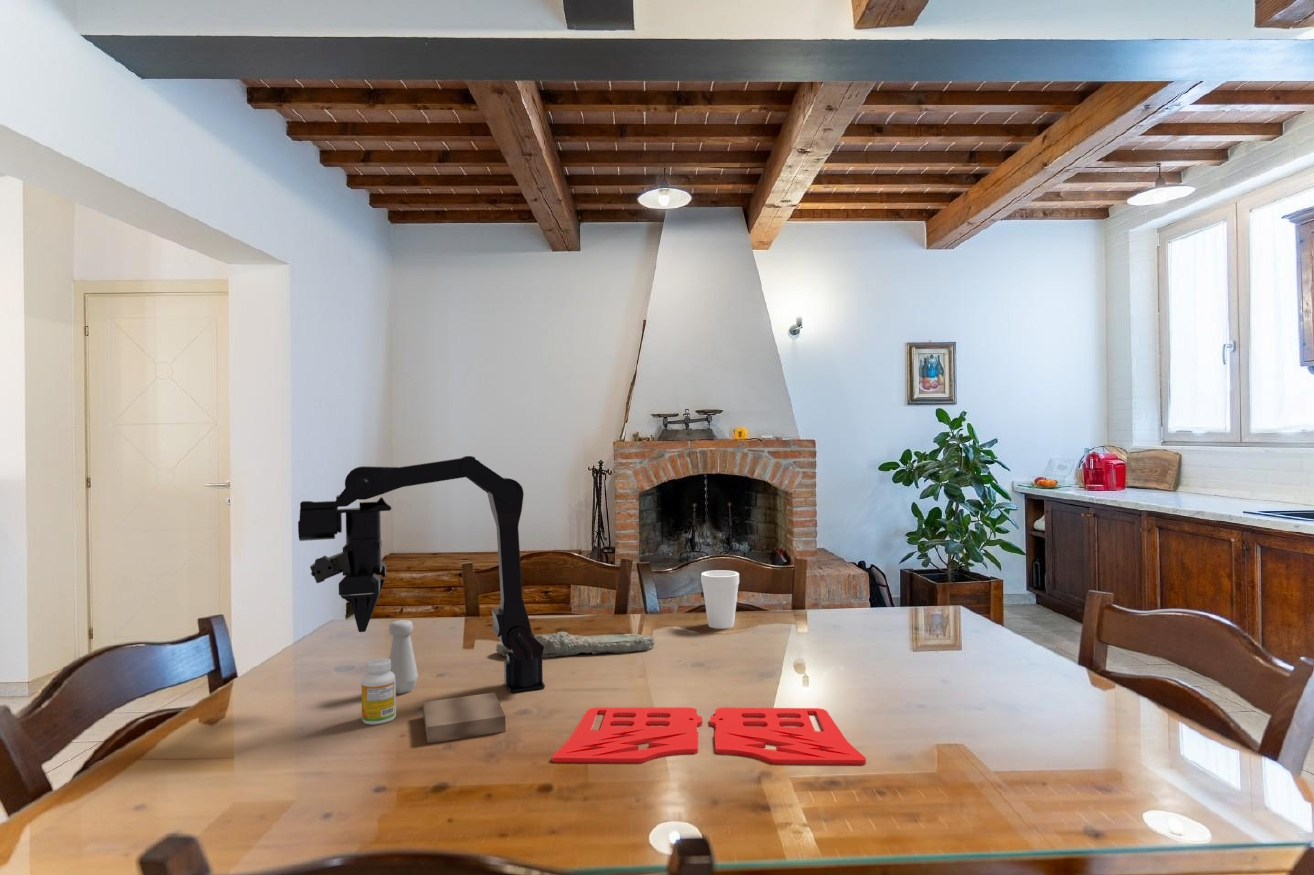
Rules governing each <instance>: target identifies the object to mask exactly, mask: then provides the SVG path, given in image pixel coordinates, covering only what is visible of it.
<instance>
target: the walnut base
mask: <svg viewBox="0 0 1314 875" xmlns="http://www.w3.org/2000/svg"><path fill="white" fill-rule="evenodd" d="M422 718H423V725H424V731H425V737H426V743H427V744H435V743H441V742H446V741H453V740H458V739H459V740H460V739H467V738H472V737H479V736H485V735H486V736H487V735H491V734H498V733H505V732H506V731H507V729H506V728H507V726H506V725H507V724H506V714H505V712H504V710H503V708H502V706H501V703H500V701H499V699H498V696H497V695H496V693H495V692H489V693H482V694H474V695H472V694H471V695H466V696H460V697H459V696H458V697H451V698H446V699H445V698H444V699H437V700H430V701H428V700H427V701H422Z"/></svg>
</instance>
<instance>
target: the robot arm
mask: <svg viewBox="0 0 1314 875" xmlns="http://www.w3.org/2000/svg"><path fill="white" fill-rule="evenodd" d="M462 478H466V479H468V480H469V481H471V482H472V483H473V484H474V485H476V486H477V487H478V488H480V489H481V490H482V491H484V492H485V493H486V494H487V497H488V502H489V507H490V511H491V513H492V516H493V520H494V522H495V526H496V527H495V528H496V539H497V554H498V555H497V556H498V570H499V574H498V576H499V588H500V589H499V591H500V601H499V605H498V608H491V614H492V618H493V621H492V622H493V625H492V628H491V629H492V631H493V632H494V634H495V635H496V637H498V639H499V640H500V642H502V643H503V645H504V646H505V647H506V648H507V649H509V650H510V651H511V652H509V653H507V656H506V660H505V661H504V662H503V679H504V680H503V683H504V685H505V686H506V687H507V688H508V691H509V692H510V693H516V692H524V691H531V690H539V689H544V688H546V684H545V683H544V682H543V679H544V678H543V658H542V653H543V650H544V646H543V645H542V644H541V643H540V641H539V640H538V639H537V638H536V637H535V634H533V633H532V632H533V631H532V627H531V623H530V618H529V614H528V612H527V609H526V605H525V602H524V599H523V583H522V582H523V581H522V567H521V549H520V534H519V523H520V520H521V515H522V511H523V503H524V488H523V487H522V485H521V484H520V483H519V482H518V481H517V480H515V479H513V478H509V477H502V476H501V475H499V473H497V472H495V471H493V470H492V469H491V468H489V467H488V466H486V465H485V464H483V463H482V462H481V461H480V460H479V459H478V458H477V457H475V456H471V455H465V456H461V457H460V458H452V459H445V460H438V461H432V462H426V463H425V462H424V463H419V464H418V463H417V464H411V465H404V466H370V465H369V466H367V465H365V466H362V465H361V466H357V467H355V468H353V469H351V470H350V472H349V473H348V474H347V475H346V477H345V480H344V489H343V491H342V492H341V493H340V494H337V495H336V496H335V498H336V500H329V501H311V500H302V501H301V502H300V503H299V507H300V508H299V509H300V510H299V519H298V522H297V524H298V526H297V528H298V529H297V530H298V531H297V532H298V534H297V535H298V540H299V542H304V541H323V540H335V539H336V535H338V533H340V534H341V533H342V532H343V531H342V530H343V519H342V518H343V515H342V514H345V544H344V546H343V547H342V552H339V553H337V554H334V555H331V556H329V557H328V556H327V555H323V556H321V557H319V558H318V557H317V558H316V559H315V561H314V563H312V564H311V565H310V566H309V568H310V571H311V573H310V575H311V576H312V577H313V578H314V580H315V583H316V584H320V583H322V582H325V580H327V579H329V578H331V577H334V576H337V575H340V574H342V576H343V578H342V579H341V580H339V582H338V595H339V596H340V598H341V599H343V600H345V601H346V602H348V603H349V604H350V606H351V609H352V612H353V616H354V620H355V623H356V627H357V631H358V632H359V633H365V632H366V631H367V628H368V627H369V624H370V620H371V619H372V617H373V616H372V615H373V613H374V611H375V609H376V608H375V607H376V606H377V602H378V600H379V597H380V595H381V592H382V589H383V586H384V583H385V580H386V576H387V564H386V563H385V562H384V561H382V547H383V540H382V538H381V536H382V534H381V533H382V531H381V528H382V527H381V512H390V511H391V510H392V506H391V505H390V504H388V503H387V502H386V501H385V499H384V497H381V495H384V494H387V493H390V492H392V491H396V490H398V489H401V488H406V487H411V486H418V485H424V484H430V483H437V482H444V481H449V480H456V479H457V480H458V479H462ZM378 496H380V497H379V499H377V501H366V502H365V501H364V500H368V499H372V498H375V497H378ZM357 500H359V501H361V500H362V501H364V502H359V507H353V508H343V507H348V506H350V505H351V504H353V503H354V502H356V501H357ZM339 507H342V508H339ZM380 576H381V577H380Z"/></svg>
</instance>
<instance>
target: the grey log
mask: <svg viewBox="0 0 1314 875" xmlns="http://www.w3.org/2000/svg"><path fill="white" fill-rule="evenodd" d="M534 636H535V637H536V638H537V639H538V640H539V641H540V643H541V644H542V645H543V646H544V650H543V653H542V659H546V658H555V657H561V656H562V657H567V656H575V655H579V654H581V653H584V654H589V653H591V654H592V655H597V654H601V653H611V654H612V653H613V654H618V653H620V654H623V653H626V654H627V653H635V652H641V651H642V652H643V651H648V650H652V649H653V648H654V646H655V640H654V636H652V635H649V634H648V635H647V634H646V635H645V634H638V633H625V634H596V635H594V634H593V635H579V634H569V632H567V631H557V633H554V632H553V633H546V634H534ZM495 646H496V649H495V651H496V652H497V654H499V655H502V656H503V657H507V653H509V652H511V651H510V650H509V649H507V648H506V647H505V646H504V645H503V643H502V642H501V641H499V642H496V645H495Z"/></svg>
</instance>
